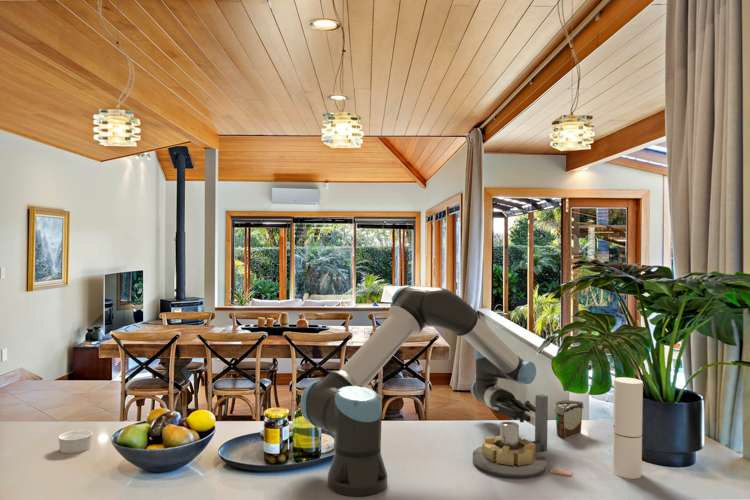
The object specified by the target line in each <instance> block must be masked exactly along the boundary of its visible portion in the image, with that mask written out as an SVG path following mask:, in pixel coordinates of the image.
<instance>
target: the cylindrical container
mask: <svg viewBox="0 0 750 500" xmlns="http://www.w3.org/2000/svg"><path fill="white" fill-rule="evenodd" d="M643 390H644V382H643V380H641V379H638V378H632V377H625V376H624V377H623V376H622V377H614V378H613V405H612V406H613V410H612V413H613V414H612V466H611V467H612V469H611V470H612V473H613V474H614V475H616V476H617V477H621V478H625V479H629V480H630V479H632V480H633V479H641V478H642V469H643V467H642V465H643V463H642V459H643V455H642V453H643V406H644V405H643V404H644V403H643V401H644V398H643V397H644V395H643V394H644V393H643V392H644V391H643Z"/></svg>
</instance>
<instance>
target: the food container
mask: <svg viewBox="0 0 750 500" xmlns="http://www.w3.org/2000/svg"><path fill="white" fill-rule="evenodd" d="M583 410H584V403H583V401H578V400H567V399H565V400H563V399H562V400H558V401H555V403H554V406H553V410H552V411H554V412H555V423H556V436H557V437H559V438H560V439H563V440H568V439H569V438H572V437H575V436H577V435H580V434H581V433H582V423H583V422H582V420H583Z"/></svg>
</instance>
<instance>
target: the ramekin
mask: <svg viewBox="0 0 750 500" xmlns="http://www.w3.org/2000/svg"><path fill="white" fill-rule="evenodd" d="M93 433H94V432H93V431H91V430H88V429H76V430H70V431H67V432H63V433H61V434H60V435H58V438H57V439H58V444H59V451H60V452H61V453H62V454H67V455H69V454H70V455H71V454H78V453H79V454H80V453H83V452H86V451H88V450H89V449H90V448H91V446H92V440H93V439H92V436H93V435H94V434H93Z"/></svg>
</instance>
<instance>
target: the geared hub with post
mask: <svg viewBox="0 0 750 500" xmlns="http://www.w3.org/2000/svg"><path fill="white" fill-rule="evenodd" d="M534 403H535V406H534V407H535V426H534V440H533V441H530V440H528V439H526V438H521V437H519V446H518V450H510V446H503V448H502V449H501V448H500V435H497V436H496V435H495V436H485V438H484V439H483V442H482V445H481V446H482V454H483V456H484V457H486V458H487V459H489V460H491V461H492V462H495V461H496V463H500V464H506V465H513V466H514V464H516V465H518V466H519V465H525V464H531V463H532V462H534V461H535V458H536V453H538V452H539V453H543V452H547V451H548V420H549V419H548V416H549V415H548V414H549V411H548V410H549V404H548V403H549V396H548V395H546V394H545V395H544V394H536V395H535V402H534Z"/></svg>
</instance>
